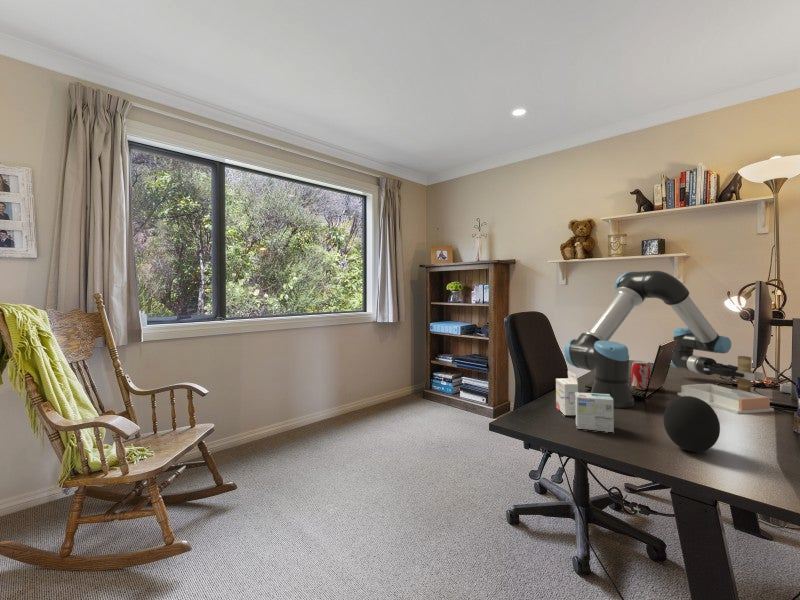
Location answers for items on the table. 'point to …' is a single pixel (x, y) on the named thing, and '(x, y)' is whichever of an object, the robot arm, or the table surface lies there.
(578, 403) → the light bulb box
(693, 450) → the decorative egg
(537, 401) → the table surface
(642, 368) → the soda can
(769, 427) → the table surface
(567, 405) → the ink cartridge box
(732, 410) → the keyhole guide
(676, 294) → the robot arm
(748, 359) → the headed peg
